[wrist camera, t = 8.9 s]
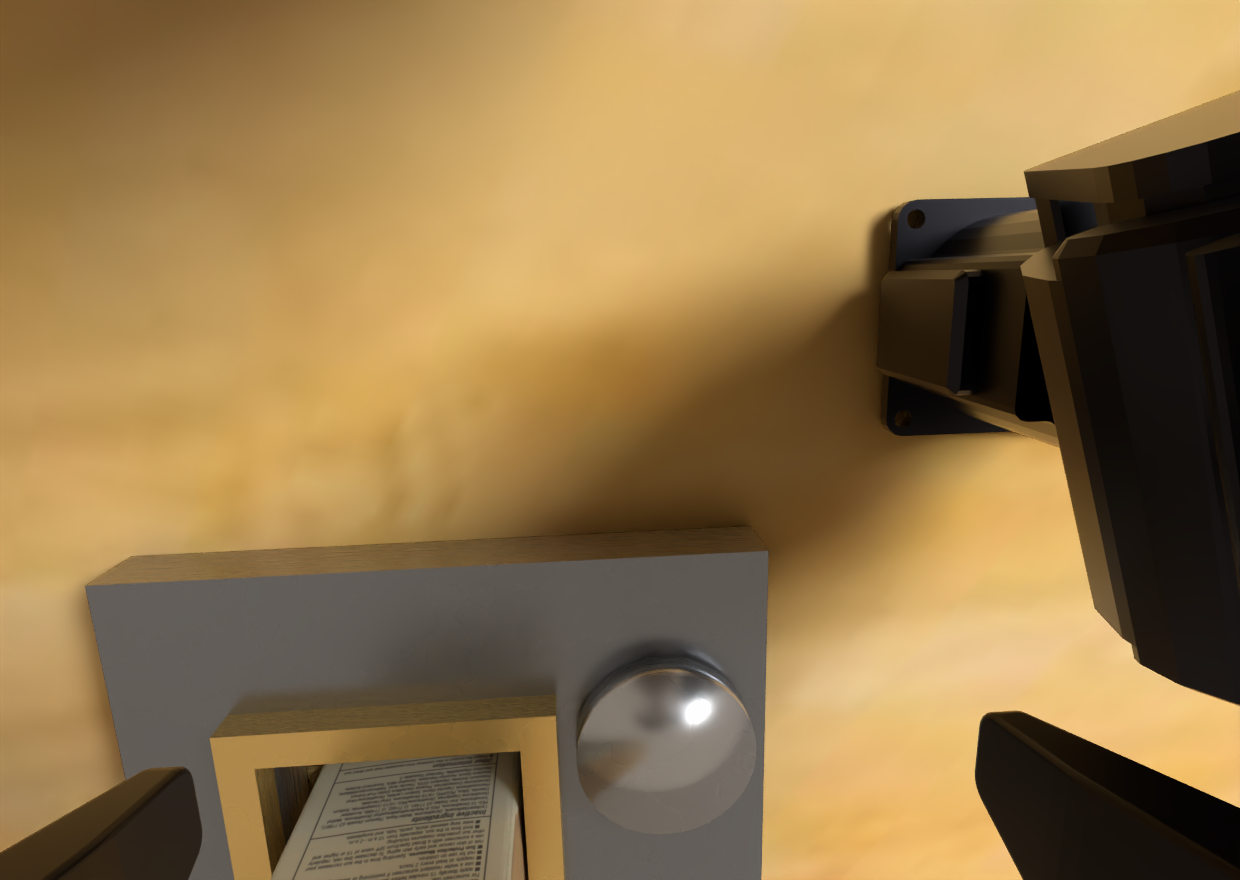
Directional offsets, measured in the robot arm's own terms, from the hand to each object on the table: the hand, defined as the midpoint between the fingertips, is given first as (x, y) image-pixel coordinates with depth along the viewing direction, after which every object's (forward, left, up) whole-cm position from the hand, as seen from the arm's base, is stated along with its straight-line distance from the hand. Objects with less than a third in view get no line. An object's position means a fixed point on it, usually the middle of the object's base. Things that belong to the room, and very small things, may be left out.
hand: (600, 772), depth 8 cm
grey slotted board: (+4, +9, -13) cm, 17 cm away
